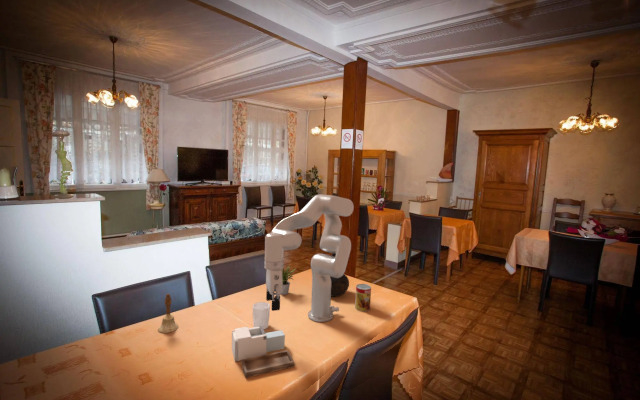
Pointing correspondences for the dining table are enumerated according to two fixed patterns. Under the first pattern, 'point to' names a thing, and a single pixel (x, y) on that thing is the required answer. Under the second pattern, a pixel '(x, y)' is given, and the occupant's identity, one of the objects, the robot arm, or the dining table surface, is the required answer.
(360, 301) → the canned food
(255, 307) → the white cup
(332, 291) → the black round vase
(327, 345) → the dining table surface
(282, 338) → the white rectangular block
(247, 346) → the dispenser
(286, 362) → the tray
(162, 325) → the hand bell
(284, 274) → the house plant
